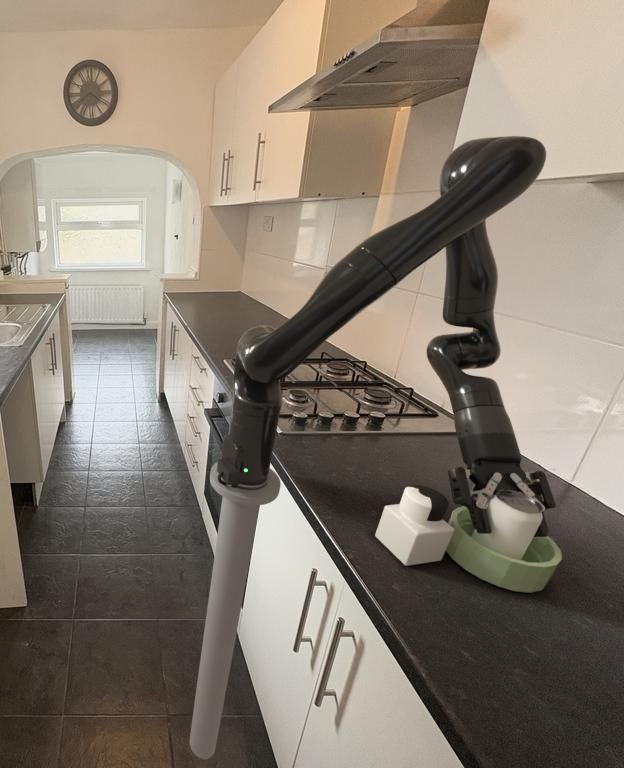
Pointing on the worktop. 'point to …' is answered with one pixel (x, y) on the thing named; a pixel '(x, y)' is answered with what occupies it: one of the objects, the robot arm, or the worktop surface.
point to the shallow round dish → (502, 558)
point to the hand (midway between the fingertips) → (512, 535)
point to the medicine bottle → (416, 526)
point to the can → (510, 523)
